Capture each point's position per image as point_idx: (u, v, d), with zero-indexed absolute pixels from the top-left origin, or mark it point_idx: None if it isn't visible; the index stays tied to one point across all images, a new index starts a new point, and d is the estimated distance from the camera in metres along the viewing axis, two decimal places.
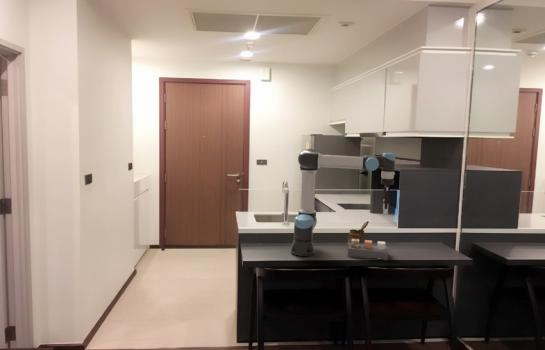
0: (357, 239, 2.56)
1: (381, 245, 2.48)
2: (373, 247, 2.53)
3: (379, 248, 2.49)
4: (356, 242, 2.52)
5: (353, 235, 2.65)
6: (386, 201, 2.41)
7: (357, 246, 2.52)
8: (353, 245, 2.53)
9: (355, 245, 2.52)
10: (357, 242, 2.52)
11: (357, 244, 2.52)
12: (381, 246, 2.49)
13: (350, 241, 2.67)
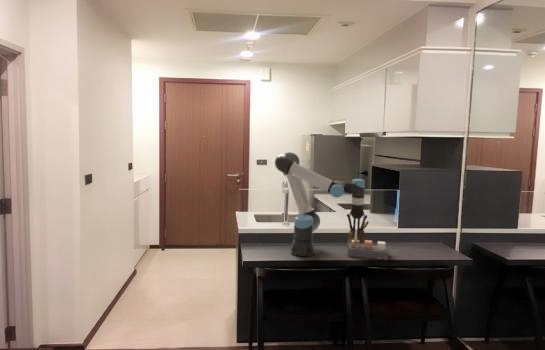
0: (357, 240, 2.56)
1: (381, 245, 2.48)
2: (373, 247, 2.53)
3: (379, 248, 2.49)
4: (356, 243, 2.52)
5: None
6: (350, 227, 2.54)
7: (357, 247, 2.52)
8: (353, 246, 2.53)
9: (355, 246, 2.52)
10: (357, 243, 2.52)
11: (357, 245, 2.52)
12: (381, 246, 2.49)
13: (350, 241, 2.67)
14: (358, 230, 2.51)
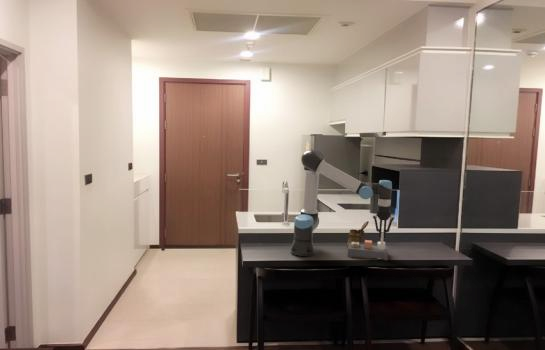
0: (357, 242, 2.56)
1: (381, 245, 2.48)
2: (373, 247, 2.53)
3: (379, 248, 2.49)
4: (356, 245, 2.52)
5: (353, 235, 2.65)
6: (376, 229, 2.50)
7: None
8: None
9: None
10: (357, 245, 2.52)
11: (357, 247, 2.52)
12: (381, 246, 2.49)
13: (350, 241, 2.67)
14: (385, 232, 2.47)
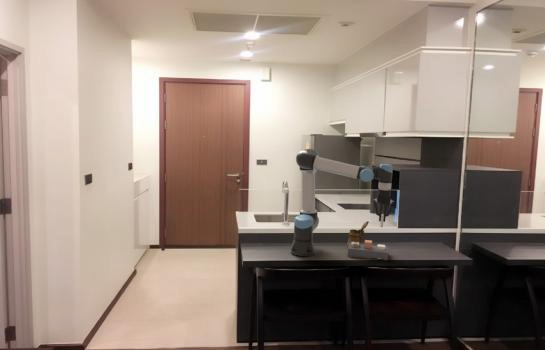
0: (357, 242, 2.56)
1: (381, 248, 2.49)
2: (373, 247, 2.53)
3: None
4: (356, 245, 2.52)
5: (353, 235, 2.65)
6: (376, 213, 2.49)
7: None
8: None
9: None
10: (357, 245, 2.52)
11: (357, 247, 2.52)
12: (381, 249, 2.49)
13: (350, 241, 2.67)
14: (384, 216, 2.47)
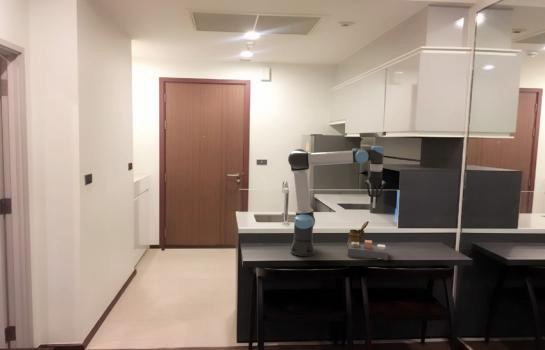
0: (357, 242, 2.56)
1: (381, 248, 2.49)
2: (373, 247, 2.53)
3: None
4: (356, 245, 2.52)
5: (353, 235, 2.65)
6: (368, 194, 2.56)
7: None
8: None
9: None
10: (357, 245, 2.52)
11: (357, 247, 2.52)
12: (381, 249, 2.49)
13: (350, 241, 2.67)
14: (376, 197, 2.53)
